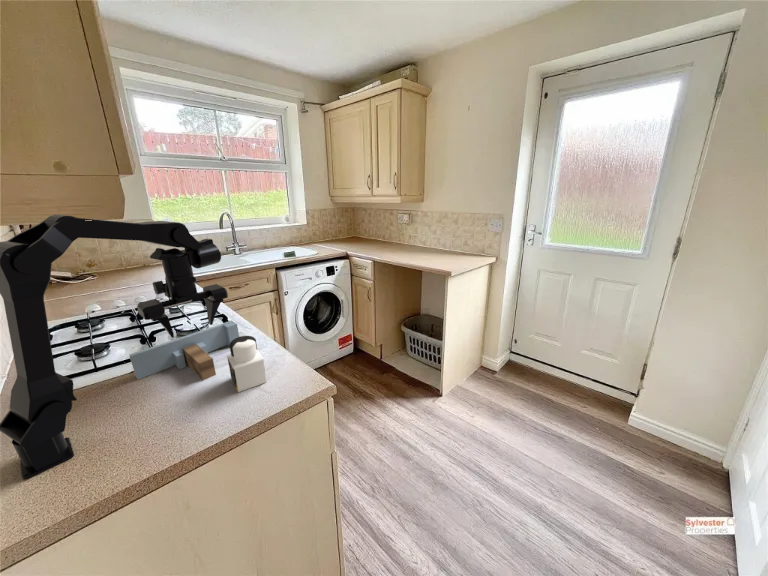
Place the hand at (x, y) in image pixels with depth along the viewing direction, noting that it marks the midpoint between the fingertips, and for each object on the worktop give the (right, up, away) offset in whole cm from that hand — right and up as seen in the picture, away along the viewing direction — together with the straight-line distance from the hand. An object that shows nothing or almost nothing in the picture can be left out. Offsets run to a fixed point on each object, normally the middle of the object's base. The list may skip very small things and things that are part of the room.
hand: (192, 330), depth 81 cm
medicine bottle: (+15, -13, -1) cm, 20 cm away
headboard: (-4, -10, +7) cm, 13 cm away
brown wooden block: (0, -11, +4) cm, 12 cm away
